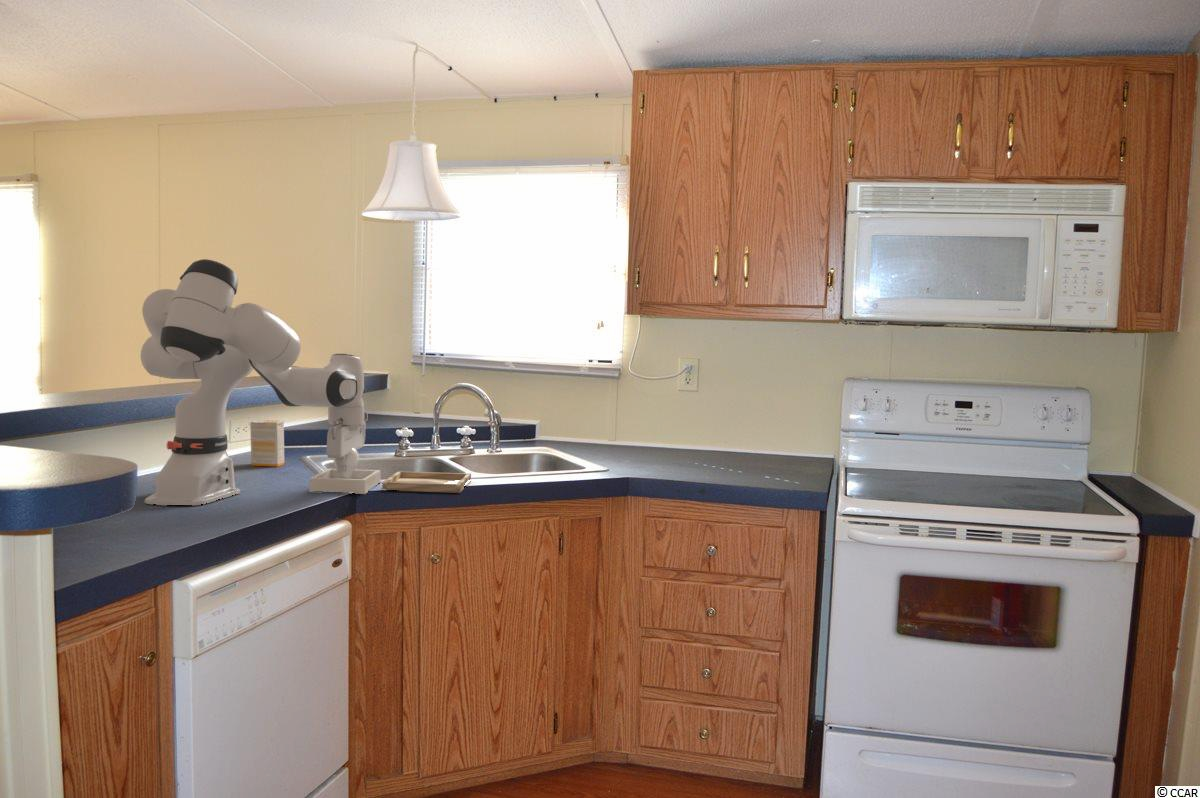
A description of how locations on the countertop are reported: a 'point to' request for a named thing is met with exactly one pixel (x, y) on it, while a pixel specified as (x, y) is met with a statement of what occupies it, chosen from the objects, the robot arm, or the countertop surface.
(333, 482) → the shallow white dish
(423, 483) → the tray
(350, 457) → the lightbulb
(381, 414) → the countertop surface
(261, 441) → the supplement box
